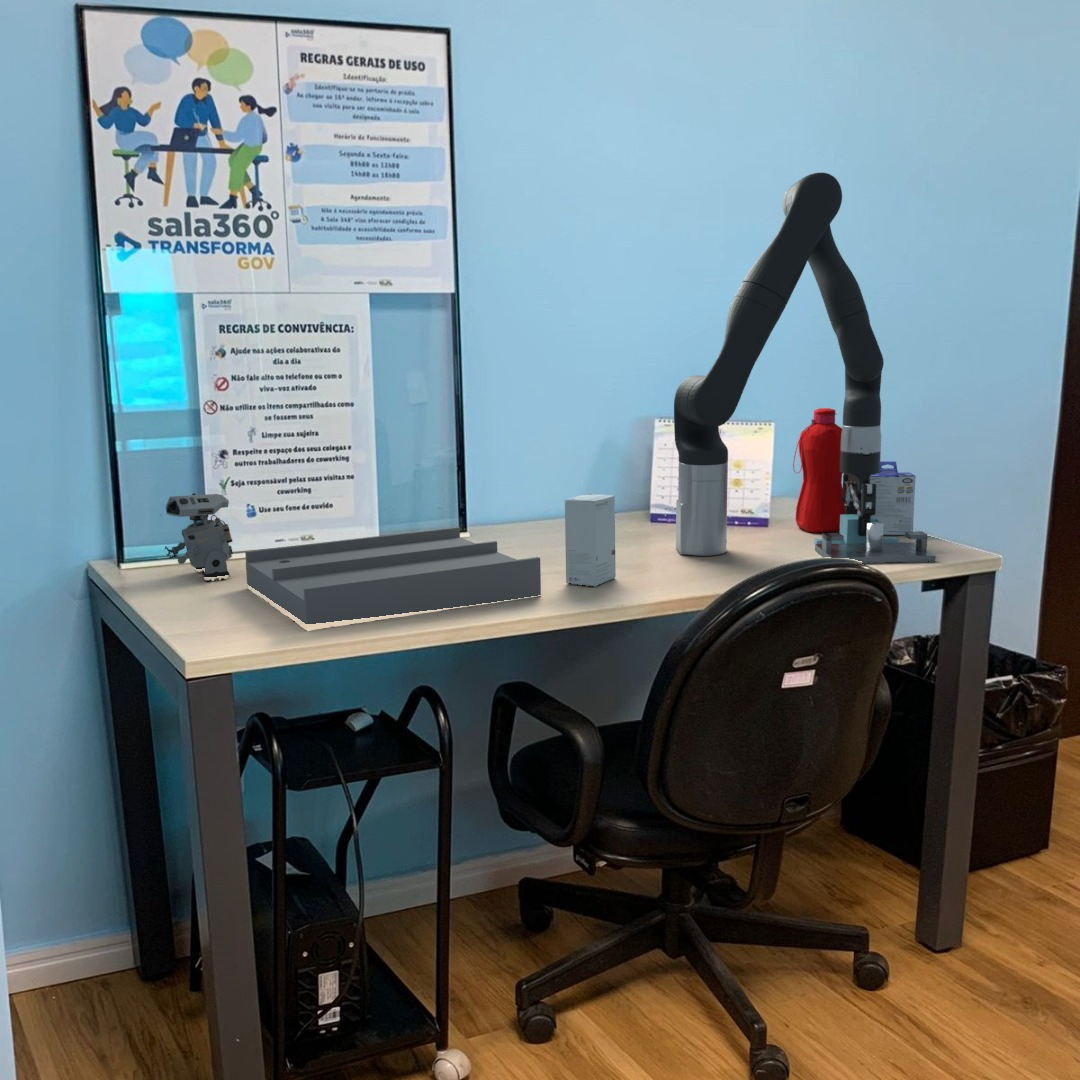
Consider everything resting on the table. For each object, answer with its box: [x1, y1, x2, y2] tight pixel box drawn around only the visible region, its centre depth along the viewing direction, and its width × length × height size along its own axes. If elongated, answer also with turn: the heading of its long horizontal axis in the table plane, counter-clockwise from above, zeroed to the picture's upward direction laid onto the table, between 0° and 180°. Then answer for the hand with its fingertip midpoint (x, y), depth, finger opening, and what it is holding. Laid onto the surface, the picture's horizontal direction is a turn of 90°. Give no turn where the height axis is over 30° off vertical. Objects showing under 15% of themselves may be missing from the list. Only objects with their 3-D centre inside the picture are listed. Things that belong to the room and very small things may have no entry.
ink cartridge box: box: [865, 461, 917, 536], centre depth 249 cm, size 10×6×14 cm, turn 89°
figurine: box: [164, 492, 234, 577], centre depth 218 cm, size 9×12×15 cm
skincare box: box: [564, 493, 616, 588], centre depth 211 cm, size 8×6×15 cm
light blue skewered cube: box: [813, 513, 900, 545], centre depth 240 cm, size 16×5×5 cm, turn 92°
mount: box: [814, 522, 937, 564], centre depth 229 cm, size 19×12×6 cm, turn 92°
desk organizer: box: [244, 526, 542, 624], centre depth 206 cm, size 32×40×7 cm
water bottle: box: [792, 407, 846, 534], centre depth 252 cm, size 9×11×25 cm
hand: (857, 531), depth 240 cm, fingers open, 8 cm apart
